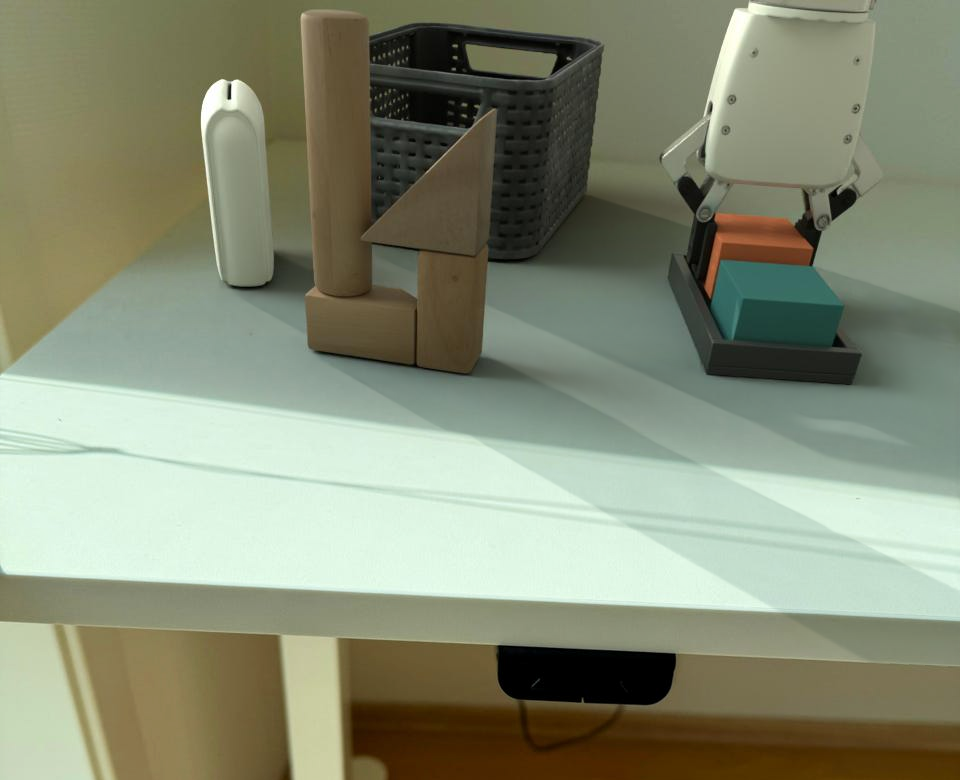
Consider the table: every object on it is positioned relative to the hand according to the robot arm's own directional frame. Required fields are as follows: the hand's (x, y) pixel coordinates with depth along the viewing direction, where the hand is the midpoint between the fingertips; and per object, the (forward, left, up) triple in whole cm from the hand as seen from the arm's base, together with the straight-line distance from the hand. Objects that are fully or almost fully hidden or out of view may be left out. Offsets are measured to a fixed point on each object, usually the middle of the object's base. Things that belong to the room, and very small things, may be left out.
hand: (745, 275), depth 70 cm
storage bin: (+22, -21, -2) cm, 31 cm away
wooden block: (+25, +15, -2) cm, 29 cm away
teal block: (0, +9, -2) cm, 9 cm away
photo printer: (+38, 0, -2) cm, 38 cm away
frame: (0, +5, -2) cm, 5 cm away
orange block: (0, 0, -1) cm, 1 cm away
